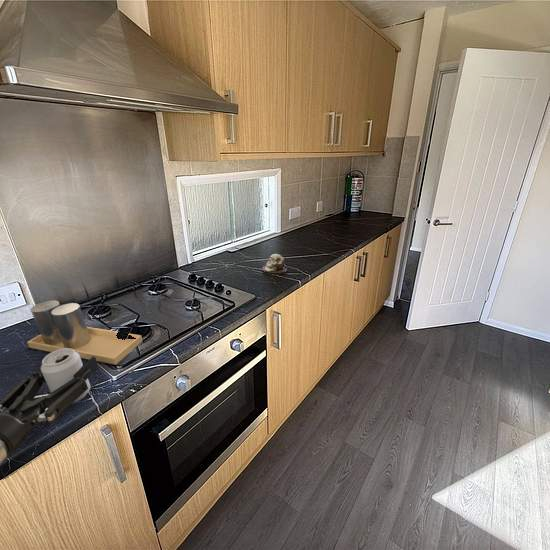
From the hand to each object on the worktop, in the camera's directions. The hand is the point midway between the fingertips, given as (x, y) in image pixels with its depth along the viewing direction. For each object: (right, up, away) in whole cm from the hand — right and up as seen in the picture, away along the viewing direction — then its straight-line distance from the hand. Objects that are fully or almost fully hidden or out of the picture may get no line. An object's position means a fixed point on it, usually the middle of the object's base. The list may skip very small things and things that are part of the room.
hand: (80, 360), depth 73 cm
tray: (-9, 0, +17) cm, 19 cm away
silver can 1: (-20, +1, +20) cm, 28 cm away
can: (0, -8, -2) cm, 8 cm away
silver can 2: (-12, 0, +18) cm, 22 cm away
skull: (+49, +24, +69) cm, 88 cm away
